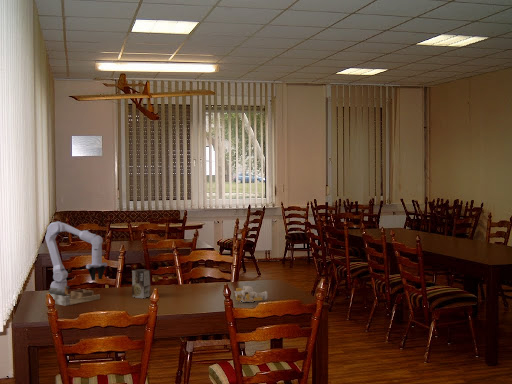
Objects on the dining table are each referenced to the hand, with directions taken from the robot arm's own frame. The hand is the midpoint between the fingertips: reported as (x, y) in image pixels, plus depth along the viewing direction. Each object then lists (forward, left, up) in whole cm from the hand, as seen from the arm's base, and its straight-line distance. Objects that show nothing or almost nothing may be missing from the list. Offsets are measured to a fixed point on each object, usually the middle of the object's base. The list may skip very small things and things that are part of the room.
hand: (96, 279), depth 402 cm
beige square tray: (0, -11, -10) cm, 15 cm away
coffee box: (+20, +16, -11) cm, 28 cm away
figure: (+80, +44, -11) cm, 92 cm away
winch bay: (0, -17, -10) cm, 20 cm away
